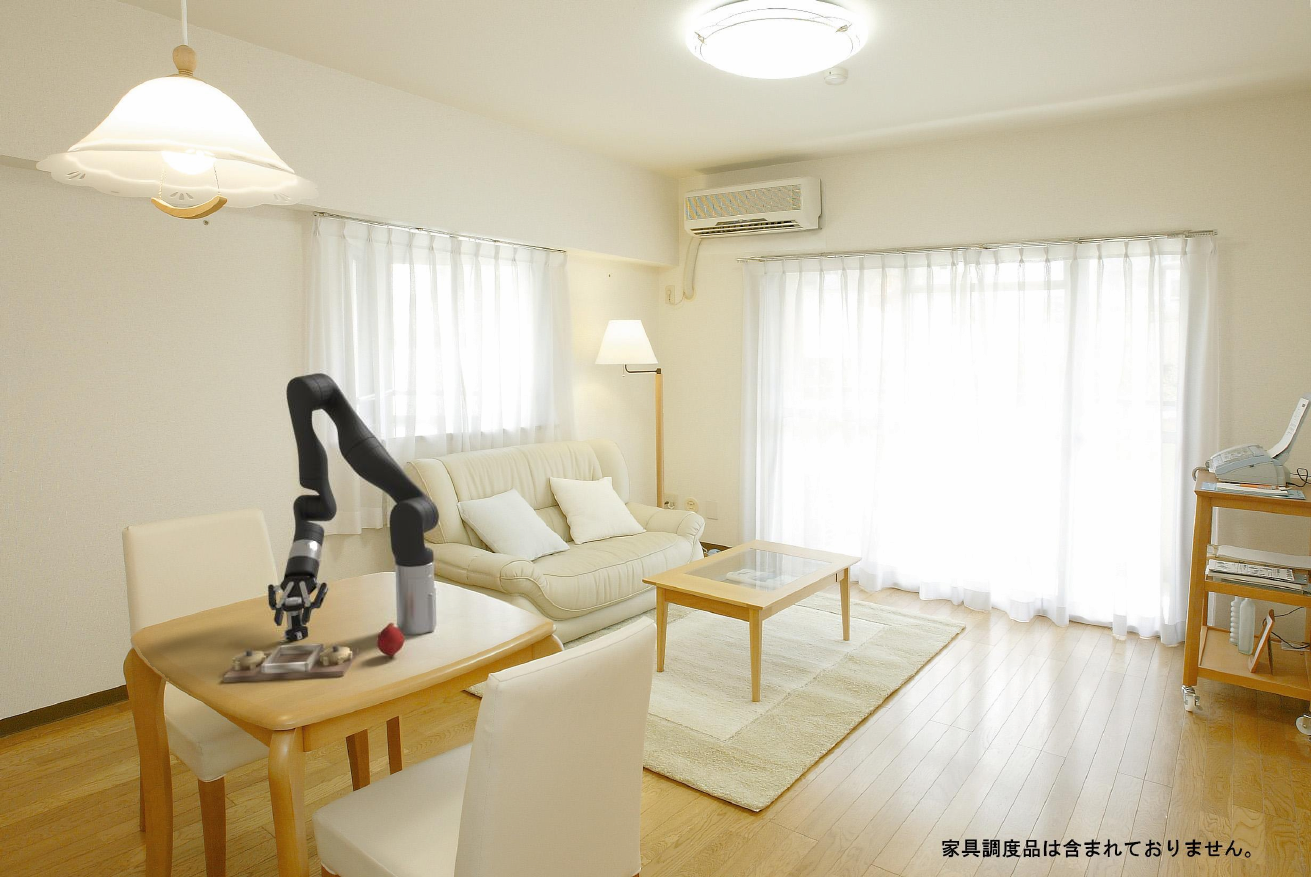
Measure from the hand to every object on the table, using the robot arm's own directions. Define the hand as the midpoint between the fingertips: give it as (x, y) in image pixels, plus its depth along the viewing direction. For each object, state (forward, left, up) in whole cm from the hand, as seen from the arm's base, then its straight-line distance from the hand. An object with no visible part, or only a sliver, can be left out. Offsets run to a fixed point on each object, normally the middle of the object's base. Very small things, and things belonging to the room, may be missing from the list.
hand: (291, 623), depth 183 cm
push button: (0, -2, -5) cm, 5 cm away
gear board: (-5, +16, -5) cm, 17 cm away
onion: (-25, +12, -5) cm, 28 cm away
